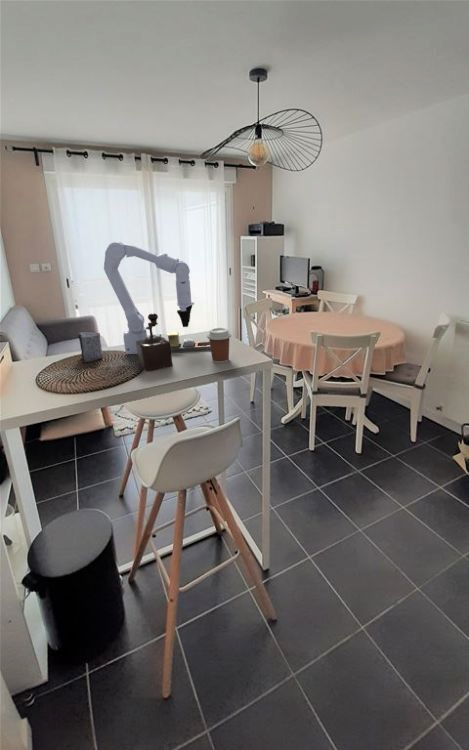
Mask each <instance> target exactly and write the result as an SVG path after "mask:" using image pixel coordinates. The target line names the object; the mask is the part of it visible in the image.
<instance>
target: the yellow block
mask: <svg viewBox="0 0 469 750" xmlns="http://www.w3.org/2000/svg"><path fill="white" fill-rule="evenodd" d="M167 337H168V342H169V343H170V347H171V348H180V343H181V342H180V333H179V332H177V331H175V332H174V331H173V332H169V333H168V335H167Z"/></svg>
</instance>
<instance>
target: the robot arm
mask: <svg viewBox="0 0 469 750" xmlns="http://www.w3.org/2000/svg"><path fill="white" fill-rule="evenodd" d="M104 251H105V252H104V262H103V263H104V264H103V270H104V273H105V275H106V276H107V280H109V283H110V286H111V287H112V290H113V291H114V293H115V295H116V297H117V299H118V301H119V303H120V305H121V308H122V309H123V311H124V316H125V318H126V322H127V328H128V329H127V330H128V331H127V330H126V331H124V332H123V344H124V345H123V346H124V349H125V355H138V353H137V347H136V341H140V340H144V339H145V338H147V337H148V333H147V329H146V327H145V325H144V324H145V317H144V316H143V314H142V313H140V311H139V310H138V308H137V307H136V305H135V303H134V301H133V298H132V296H131V295H130V293H129V291H128V288H127V286H126V284H125V282H124V279H123V277H122V275H121V274H120V271H119V266H120V264H121V261H122V260H123V259H124V258H125V257H126V258H130V257H131V258H132V257H135V258H138V259H139V258H140V259H142V260H145V261H147V262H150V263H153V264H154V265H155V266H156V268H157V269H159V270H162V271H165V272H166V273H169V274H175V288H176V289H175V290H176V298H177V299H176V301H177V303H176V305H177V307H178V308H179V309H177V311H176V313H177V315H178V316H179V319H180V320H181V321H180V323H181V324H182V328H188V327H189V326H190V325H189V323H190V322H191V321H190V320H191V313H192V309H193V305H195V302H194V301H192V294H191V281H190V276H189V274H190V272H191V270H190V267H189V265H188V263H186V262H184V261H183V260H180V259H179V258H174V257H171V256H168V253H164V254H163V253H159V254H158V255H157V254H154V253H153V252H149V251H147V250H145V249H143V248H140V247H138V246H135V245H133V244H129V243H123V242H121V241H113V242H111V243H110V244H109V245H108V246H107V248H106V250H104Z"/></svg>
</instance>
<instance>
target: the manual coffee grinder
mask: <svg viewBox="0 0 469 750" xmlns="http://www.w3.org/2000/svg"><path fill="white" fill-rule="evenodd" d="M147 318H148V319H147V320H149V321H150V322H148V323H147V326H146V327H145V328H146V330H149V336H147V338H145V339H144V340H140V341H136V347H137V353H138V354H137V358H138V363H139V365H141V366H142V367H141V366H140V367H141V368H142V369H144V371H146V372H152V371H156V370H161V369H166V368H170V367H173V365H174V364H173V357H172V352H171V347H170V343H169V340H167V339H166V338H165V337H163V336H162V335H161V334H159V336H158V335H154V334H153V327H156V326H157V325H158V324H159V323H158V322H157V321H158V319H159V316H158V314H157V313H155V312H153V313H149V314H148V316H147Z"/></svg>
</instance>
